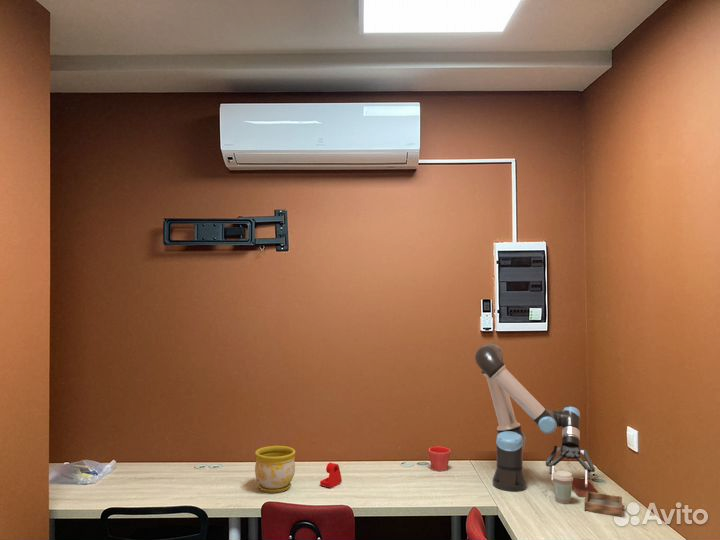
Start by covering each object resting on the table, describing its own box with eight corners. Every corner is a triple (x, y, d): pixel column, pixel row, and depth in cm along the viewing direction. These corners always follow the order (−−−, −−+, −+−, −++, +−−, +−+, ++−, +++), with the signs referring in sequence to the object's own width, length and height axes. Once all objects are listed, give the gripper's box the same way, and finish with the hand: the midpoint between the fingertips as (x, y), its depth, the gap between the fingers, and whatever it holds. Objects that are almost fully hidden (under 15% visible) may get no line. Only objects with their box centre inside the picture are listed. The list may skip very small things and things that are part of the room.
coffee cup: (557, 496, 242) (557, 468, 242) (576, 501, 235) (576, 473, 236) (548, 501, 236) (548, 472, 236) (567, 506, 230) (567, 477, 230)
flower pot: (451, 472, 271) (452, 452, 271) (429, 472, 271) (429, 452, 272) (448, 465, 282) (448, 446, 282) (427, 465, 282) (427, 446, 282)
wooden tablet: (602, 500, 238) (602, 496, 238) (577, 498, 240) (577, 494, 241) (589, 480, 264) (589, 476, 265) (567, 478, 267) (567, 474, 267)
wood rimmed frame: (584, 511, 225) (584, 502, 226) (586, 499, 238) (586, 491, 238) (622, 517, 219) (622, 508, 220) (622, 505, 232) (621, 496, 232)
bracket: (331, 480, 258) (331, 459, 258) (341, 483, 254) (341, 461, 255) (319, 486, 251) (319, 464, 251) (329, 489, 247) (330, 466, 247)
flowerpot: (246, 491, 243) (247, 454, 243) (267, 478, 259) (268, 443, 260) (282, 497, 236) (282, 459, 237) (301, 484, 253) (302, 448, 253)
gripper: (600, 446, 249) (600, 491, 235) (542, 440, 259) (539, 483, 245) (600, 437, 244) (600, 483, 230) (541, 431, 254) (538, 475, 240)
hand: (569, 483), depth 237 cm, fingers open, 13 cm apart
